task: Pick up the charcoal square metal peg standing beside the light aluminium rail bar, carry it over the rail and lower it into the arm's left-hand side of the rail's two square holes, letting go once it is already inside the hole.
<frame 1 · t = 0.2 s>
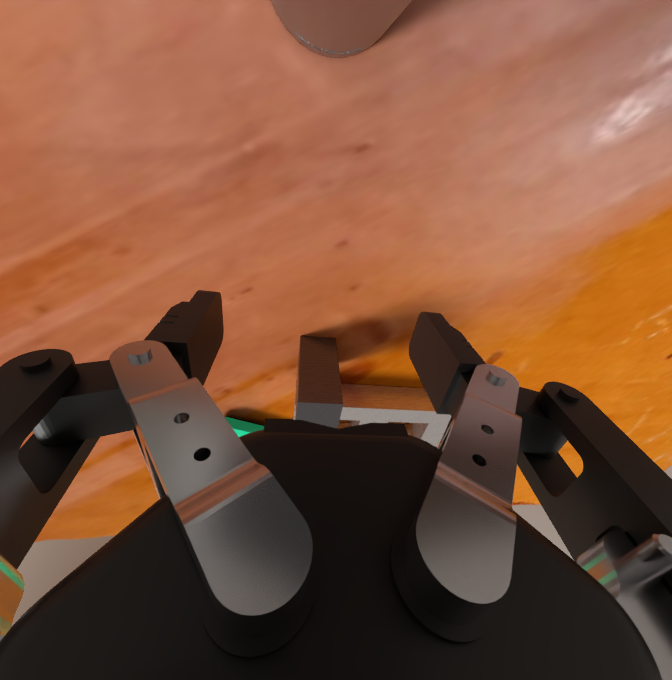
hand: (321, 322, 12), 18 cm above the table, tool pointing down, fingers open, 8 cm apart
peg: (316, 350, 35), on the table
rail: (365, 410, 42), on the table
camera mount: (237, 439, 45), on the table
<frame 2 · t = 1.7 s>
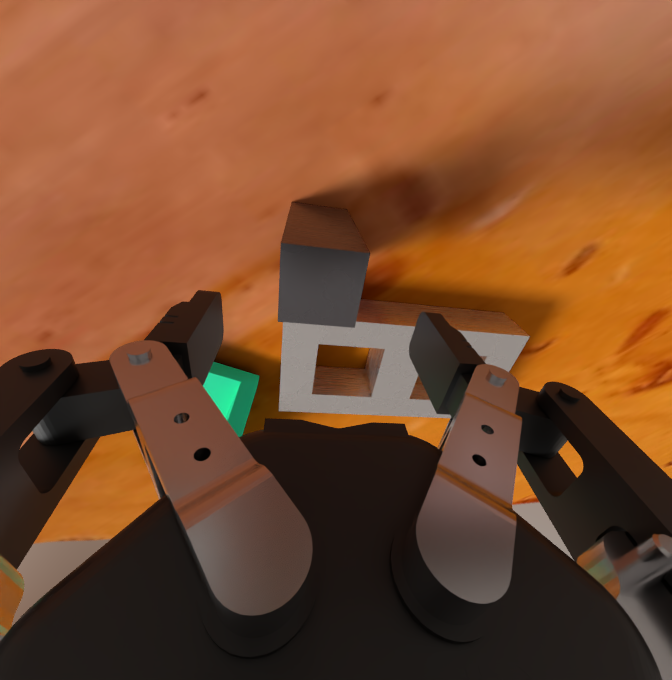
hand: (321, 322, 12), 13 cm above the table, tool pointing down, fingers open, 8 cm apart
peg: (316, 234, 23), on the table
rail: (387, 348, 29), on the table
camera mount: (207, 396, 32), on the table
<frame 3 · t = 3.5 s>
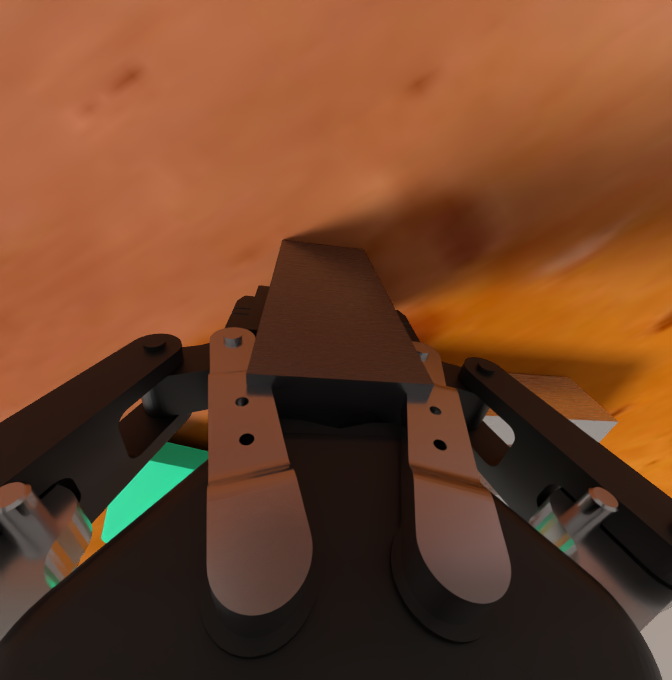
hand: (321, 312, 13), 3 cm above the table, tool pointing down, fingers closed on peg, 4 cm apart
peg: (319, 283, 16), on the table, touching gripper
rail: (412, 421, 22), on the table
camera mount: (179, 478, 24), on the table
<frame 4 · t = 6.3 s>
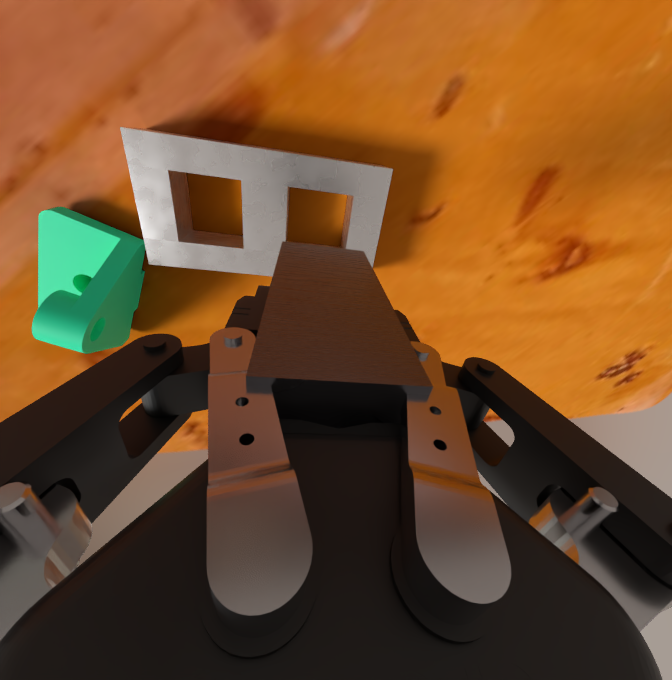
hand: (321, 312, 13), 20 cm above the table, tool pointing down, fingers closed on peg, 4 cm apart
peg: (319, 284, 16), point 16 cm above the table, touching gripper
rail: (269, 209, 29), on the table
camera mount: (102, 274, 31), on the table
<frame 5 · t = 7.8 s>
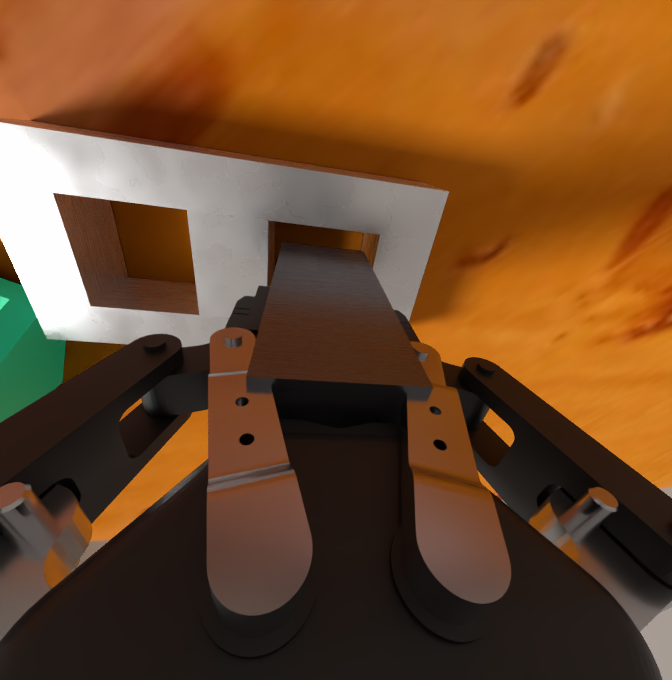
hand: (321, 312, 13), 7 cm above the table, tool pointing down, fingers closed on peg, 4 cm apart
peg: (319, 284, 16), point 4 cm above the table, touching gripper
rail: (245, 248, 19), on the table
camera mount: (4, 338, 21), on the table
when the fingers open (5 cm above the table, at t = 9.0 s): peg drops 2 cm, resting in rail.
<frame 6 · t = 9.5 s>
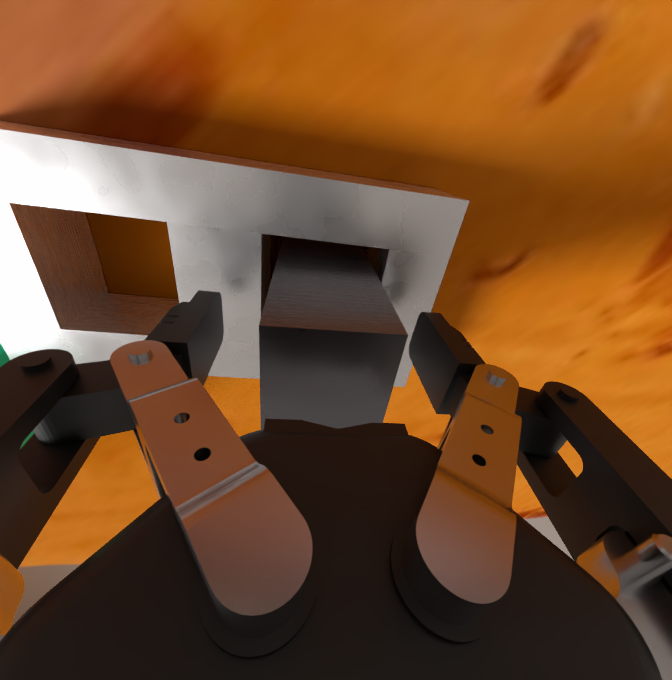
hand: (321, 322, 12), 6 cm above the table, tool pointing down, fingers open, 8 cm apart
peg: (318, 270, 17), resting in rail
rail: (237, 261, 17), on the table
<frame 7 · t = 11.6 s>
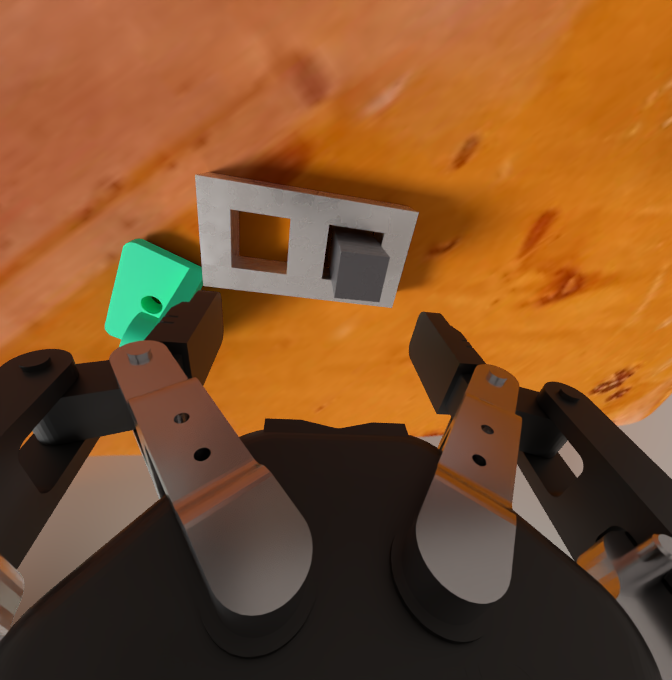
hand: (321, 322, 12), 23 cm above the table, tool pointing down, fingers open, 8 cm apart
peg: (348, 246, 33), resting in rail
rail: (307, 240, 33), on the table
camera mount: (162, 294, 35), on the table
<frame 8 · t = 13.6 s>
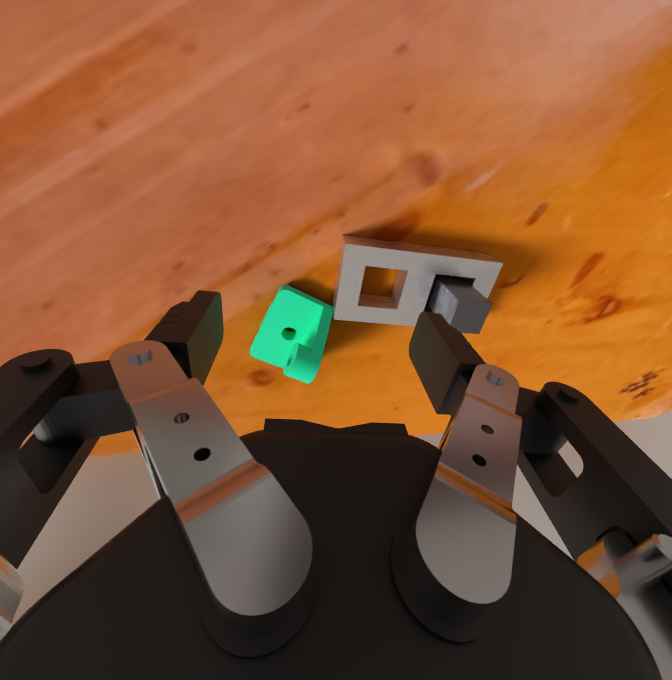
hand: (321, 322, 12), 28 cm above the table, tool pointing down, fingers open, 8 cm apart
peg: (437, 283, 43), resting in rail
rail: (407, 280, 42), on the table
camera mount: (290, 324, 45), on the table
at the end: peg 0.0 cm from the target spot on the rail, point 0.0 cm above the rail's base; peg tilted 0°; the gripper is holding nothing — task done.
